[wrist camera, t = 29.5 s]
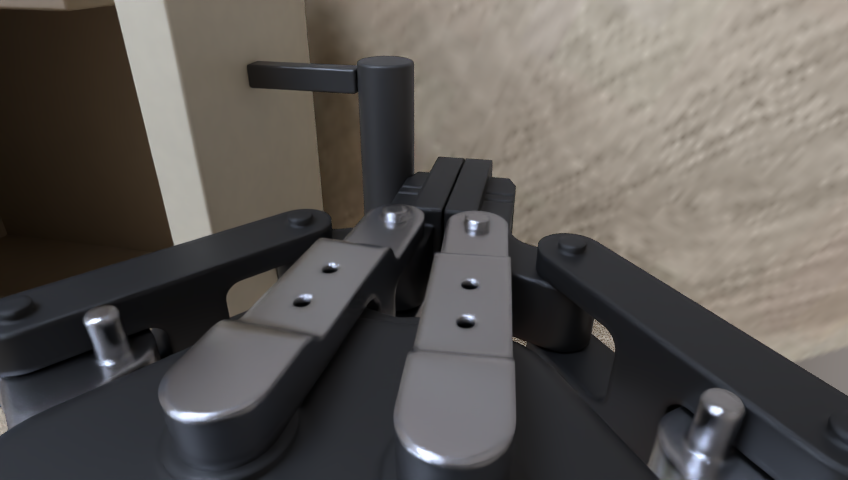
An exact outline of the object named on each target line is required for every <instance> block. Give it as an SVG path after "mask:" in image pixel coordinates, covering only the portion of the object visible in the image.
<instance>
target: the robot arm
mask: <svg viewBox="0 0 848 480" xmlns="http://www.w3.org/2000/svg"><path fill="white" fill-rule="evenodd" d="M515 190H516V186H515V185H514V184H513V182H512V181H511V180H510V179H508V178H495V177H492V160H481V159H467V158H466V160H465V159H464V158H452V157H438V158H437V160H436V162H435V164H434V165H433V167H432V169H431V171H430V173H429V172H417V173H415V174H414V175H412V176H410V177H408V178H407V179H406V181H405V182H404V184H403V185H402V187H401V188H400V190H399V192H398V193H397V195H396V196H395V198H394V199H393V201H392V202H391V204H387V205H382V206H378V207H375V208H373V209H371V210H370V211H369V212H367V213H366V215H365V216H364V217H363V218H362V219H361V220H360V221H359V222H358V224H357V225H356V226H355V227H354V228H346V229H332V221H331V217H330V215H329V214H327V213H326V212H323V211H321V210H316V209H297V210H291V211H287V212H284V213H281V214H277V215H274V216H271V217H267V218H264V219H261V220H257V221H254V222H251V223H248V224H244V225H241V226H238V227H234V228H231V229H228V230H224V231H221V232H218V233H215V234H211V235H208V236H205V237H201V238H198V239H195V240H191V241H188V242H185V243H182V244H178V245H175V246H172V247H168V248H165V249H162V250H158V251H155V252H152V253H149V254H145V255H142V256H139V257H135V258H132V259H129V260H125V261H122V262H119V263H116V264H112V265H109V266H106V267H102V268H99V269H96V270H92V271H89V272H86V273H82V274H79V275H76V276H73V277H69V278H66V279H63V280H59V281H56V282H53V283H49V284H46V285H43V286H40V287H36V288H33V289H30V290H26V291H23V292H20V293H16V294H13V295H10V296H7V297H4V298H1V299H0V405H1V407H2V409H3V411H4V413H5V416H6V421H7V426H8V431H7V432H5V433H4V434H2V435H1V436H0V480H848V396H847V395H845V394H844V393H842V392H840V391H839V390H837V389H835V388H834V387H832V386H830V385H829V384H827V383H826V382H824V381H823V380H821V379H819V378H818V377H816V376H814V375H813V374H811V373H810V372H808V371H806V370H805V369H803V368H801V367H800V366H798V365H797V364H795V363H793V362H792V361H790V360H788V359H787V358H785V357H784V356H782V355H780V354H779V353H777V352H775V351H774V350H772V349H771V348H769V347H767V346H766V345H764V344H762V343H761V342H759V341H758V340H756V339H754V338H753V337H751V336H749V335H748V334H746V333H745V332H743V331H741V330H740V329H738V328H736V327H735V326H733V325H732V324H730V323H728V322H727V321H725V320H723V319H722V318H720V317H719V316H717V315H715V314H714V313H712V312H711V311H709V310H707V309H706V308H704V307H702V306H701V305H699V304H698V303H696V302H694V301H693V300H691V299H689V298H688V297H686V296H685V295H683V294H681V293H680V292H678V291H676V290H675V289H673V288H672V287H670V286H668V285H667V284H665V283H663V282H662V281H660V280H659V279H657V278H655V277H654V276H652V275H650V274H649V273H647V272H646V271H644V270H642V269H641V268H639V267H637V266H636V265H634V264H633V263H631V262H629V261H628V260H626V259H624V258H623V257H621V256H620V255H618V254H616V253H615V252H613V251H611V250H610V249H608V248H607V247H605V246H603V245H602V244H600V243H599V242H597V241H595V240H593V239H591V238H588V237H585V236H582V235H577V234H569V233H559V234H552V235H549V236H546V237H544V238H542V239H541V240H540V241H539V243H538V247H535V246H531V245H528V244H526V243H523V242H521V241H519V240H518V239H516V238H515V237H514V236H513V235H512V225H513V213H514V202H515ZM275 268H277V270H278V276H279V279H278V280H277V281H276V282H275V283H274V284H273V286H272V287H271V288H270V289H269V290H268V291H267V292H266V293H265V294H264V295H263V296H262V297H261V298H260V299H259V300H258V301H257V302H256V303H255V304H254V305H253V306H252V307H251V308H250V309H249V310H247V311H245V312H242V313H240V314H237V315H235V316H232V317H230V316H229V311H228V306H227V301H226V298H227V294H228V291H229V290H230V288H231V287H232V286H233V285H234V284H236V283H237V282H239V281H242V280H244V279H247V278H250V277H253V276H255V275H258V274H261V273H264V272H266V271H269V270H272V269H275ZM594 319H596V320H597V321H598V322H599V323H601V324H602V325H603V326H604V327H606V328H607V330H608V331H609V332H610V334H611V335H612V337H613V340H614V343H615V353H614V352H613V351H612V350H611V349H610V348H608V347H607V346H606V345H605V344H603V343H602V342H601V341H600V340H599V339H597V338H596V337H595V336H594V335H592V334H591V333H592V328H593V322H594ZM149 328H152V331H151V330H150V329H149ZM512 336H513V337H516V338H518V339H521V340H524V341H527V344H526V347H525V346H523V345H521V344H519V343H517V342H515V341H512Z"/></svg>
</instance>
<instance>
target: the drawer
mask: <svg viewBox="0 0 848 480" xmlns="http://www.w3.org/2000/svg"><path fill="white" fill-rule="evenodd" d="M312 91H313V92H330V93H347V94H355V93H357V92H358V96H359V115H360V135H361V155H362V175H363V194H364V214H365V215H366V213H367V212H369V211H370V210H371V209H373V208H375V207H378V206H382V205H387V204H391V202H392V201H393V199H394V198H395V196H396V195H397V193H398V192H399V190H400V188H401V187H402V185H403V184H404V182H405V181H406V179H407V178H408V177H410V176H412V175H414V62H413V61H412V60H411V59H408V58H404V57H397V56H375V57H367V58H363V59H361V60H359V61H358V62H357V66H355V65H334V64H313V63H310V59H309V48H308V37H307V26H306V15H305V4H304V0H0V299H1V298H4V297H7V296H10V295H13V294H16V293H20V292H23V291H26V290H30V289H33V288H36V287H40V286H43V285H46V284H49V283H53V282H56V281H59V280H63V279H66V278H69V277H73V276H76V275H79V274H82V273H86V272H89V271H92V270H96V269H99V268H102V267H106V266H109V265H112V264H116V263H119V262H122V261H125V260H129V259H132V258H135V257H139V256H142V255H145V254H149V253H152V252H155V251H158V250H162V249H165V248H168V247H172V246H175V245H178V244H182V243H185V242H188V241H191V240H195V239H198V238H201V237H205V236H208V235H211V234H215V233H218V232H221V231H224V230H228V229H231V228H234V227H238V226H241V225H244V224H248V223H251V222H254V221H257V220H261V219H264V218H267V217H271V216H274V215H277V214H281V213H284V212H287V211H291V210H297V209H316V210H321V211H323V202H322V191H321V180H320V169H319V158H318V147H317V136H316V125H315V114H314V103H313V92H312ZM278 279H279V276H278V270H277V268H275V269H272V270H269V271H266V272H264V273H261V274H258V275H255V276H253V277H250V278H247V279H244V280H242V281H239V282H237V283H236V284H234V285H233V286H232V287H231V288H230V290H229V291H228V294H227V298H226V301H227V306H228V311H229V316H230V317H232V316H235V315H237V314H240V313H242V312H245V311H247V310H249V309H250V308H251V307H252V306H253V305H254V304H255V303H256V302H257V301H258V300H259V299H260V298H261V297H262V296H263V295H264V294H265V293H266V292H267V291H268V290H269V289H270V288H271V287H272V286H273V284H274V283H275V282H276V281H277V280H278ZM149 329H150V330H151V331H152V328H149Z"/></svg>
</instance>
